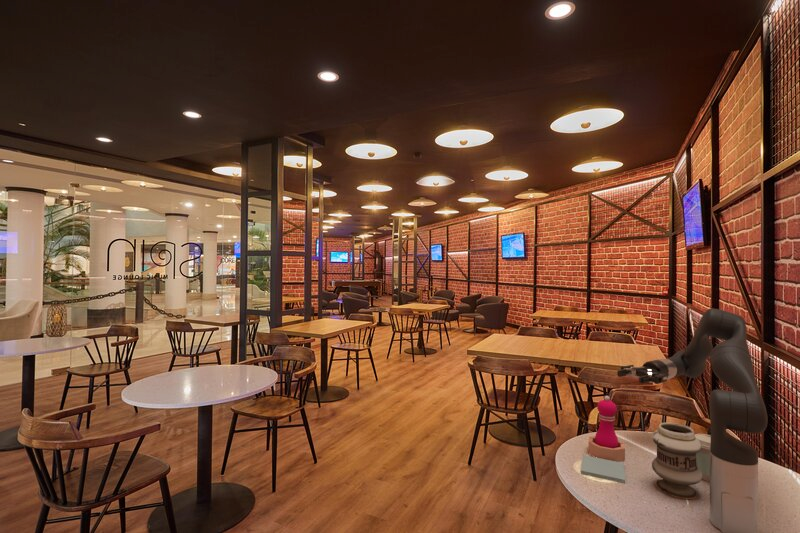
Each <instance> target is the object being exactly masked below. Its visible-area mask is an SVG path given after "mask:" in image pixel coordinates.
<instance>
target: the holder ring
mask: <svg viewBox="0 0 800 533" xmlns="http://www.w3.org/2000/svg"><path fill="white" fill-rule="evenodd" d="M595 436H596V435H593V436H588V445H587V446H588V447H587V448H588V454H589V455H590V454H591V455H590V456H592V455H593V456H592V457H594V456H595V457H597V458H601V459H606V460H611V461H616V462H618V461H619V462H624V460H625V461H626V447H625V446H626V445H625V442H622V440H619V439H618V447H617V448H608V447H602V446H599V445H597V444H596V443H595Z"/></svg>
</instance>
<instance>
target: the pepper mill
mask: <svg viewBox="0 0 800 533" xmlns="http://www.w3.org/2000/svg"><path fill="white" fill-rule="evenodd" d="M610 399H611V398H610V396H608V395H604V397H603V399H601V400H599V401H598V402H597V406H596V408H597V411H598V419H599V426H598V430H597V431H596V433H595V435H594V436H595V443H596V444H597V445H599V446H602V447H608V448H617V447H618V440H619V439H618V436H617V433H616V431H615V428H614V421H615V420H616V416H615V414H617V412H618V410H617V405H616V404H615V402H613V401H612V400H610Z"/></svg>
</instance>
